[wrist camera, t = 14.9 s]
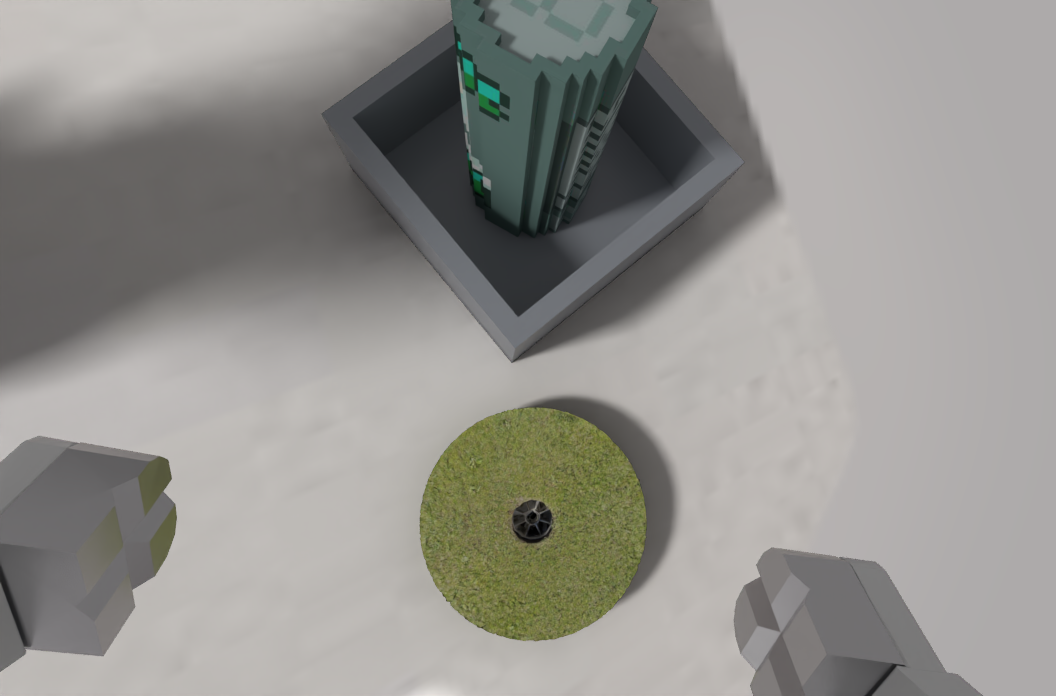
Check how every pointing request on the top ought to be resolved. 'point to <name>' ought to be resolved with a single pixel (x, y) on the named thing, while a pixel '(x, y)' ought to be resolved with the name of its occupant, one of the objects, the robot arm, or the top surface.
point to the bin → (521, 262)
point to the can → (542, 99)
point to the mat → (533, 524)
